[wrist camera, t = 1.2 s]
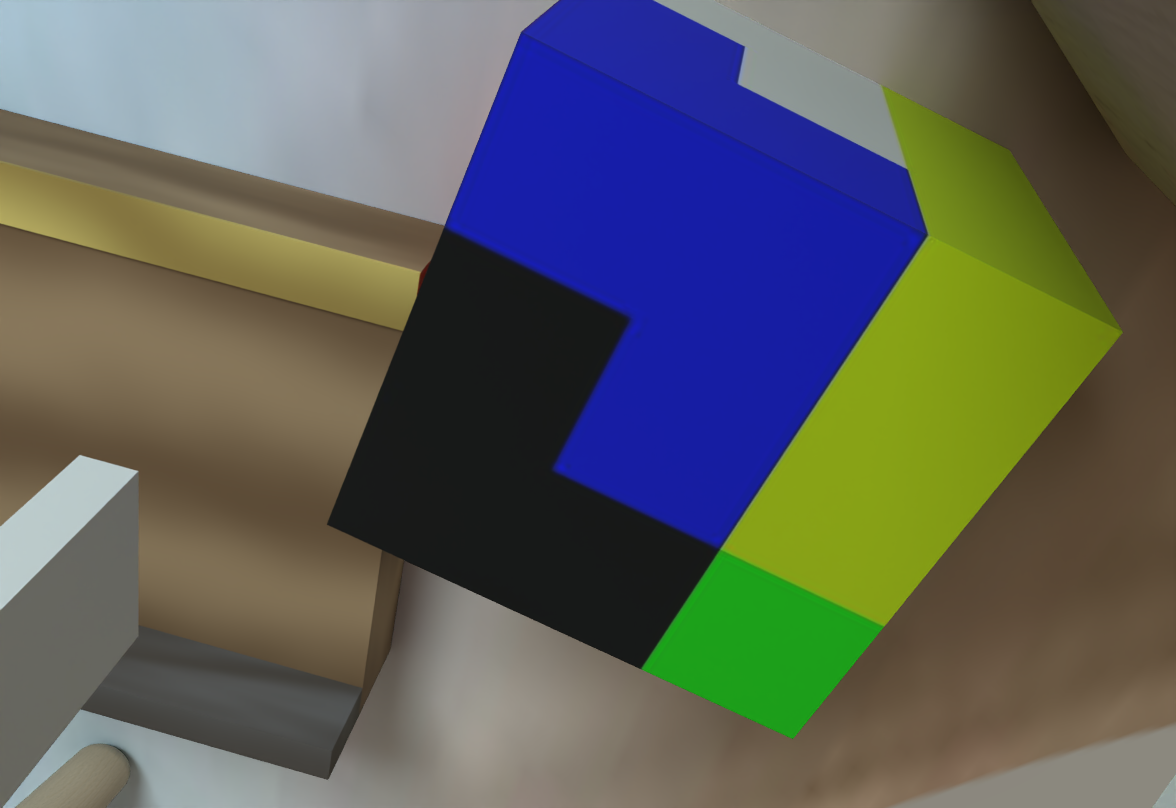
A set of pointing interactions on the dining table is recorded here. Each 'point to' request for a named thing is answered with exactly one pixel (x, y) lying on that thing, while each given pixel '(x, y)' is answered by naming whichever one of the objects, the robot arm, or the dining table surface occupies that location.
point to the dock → (209, 420)
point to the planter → (83, 780)
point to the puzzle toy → (716, 352)
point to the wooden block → (1126, 73)
